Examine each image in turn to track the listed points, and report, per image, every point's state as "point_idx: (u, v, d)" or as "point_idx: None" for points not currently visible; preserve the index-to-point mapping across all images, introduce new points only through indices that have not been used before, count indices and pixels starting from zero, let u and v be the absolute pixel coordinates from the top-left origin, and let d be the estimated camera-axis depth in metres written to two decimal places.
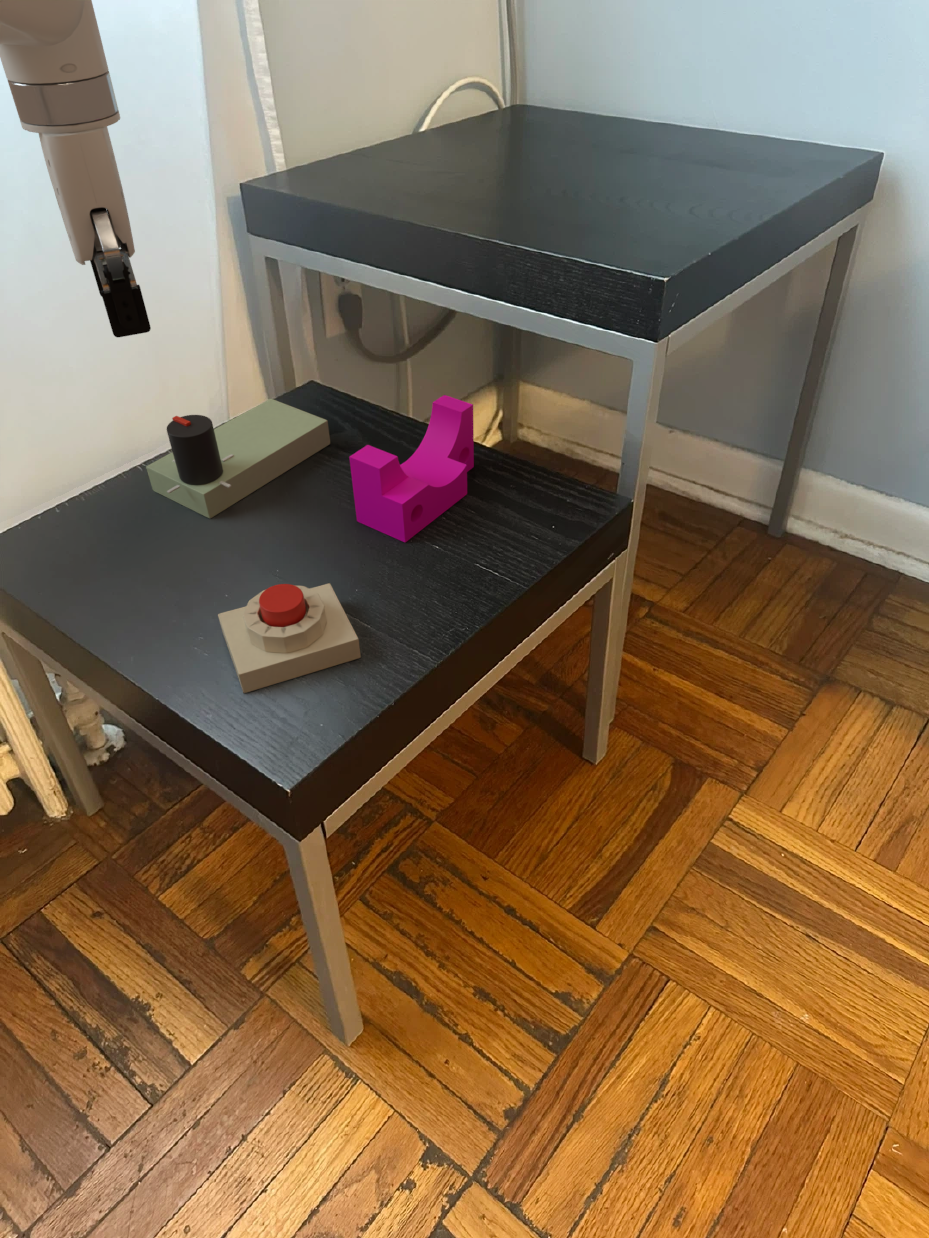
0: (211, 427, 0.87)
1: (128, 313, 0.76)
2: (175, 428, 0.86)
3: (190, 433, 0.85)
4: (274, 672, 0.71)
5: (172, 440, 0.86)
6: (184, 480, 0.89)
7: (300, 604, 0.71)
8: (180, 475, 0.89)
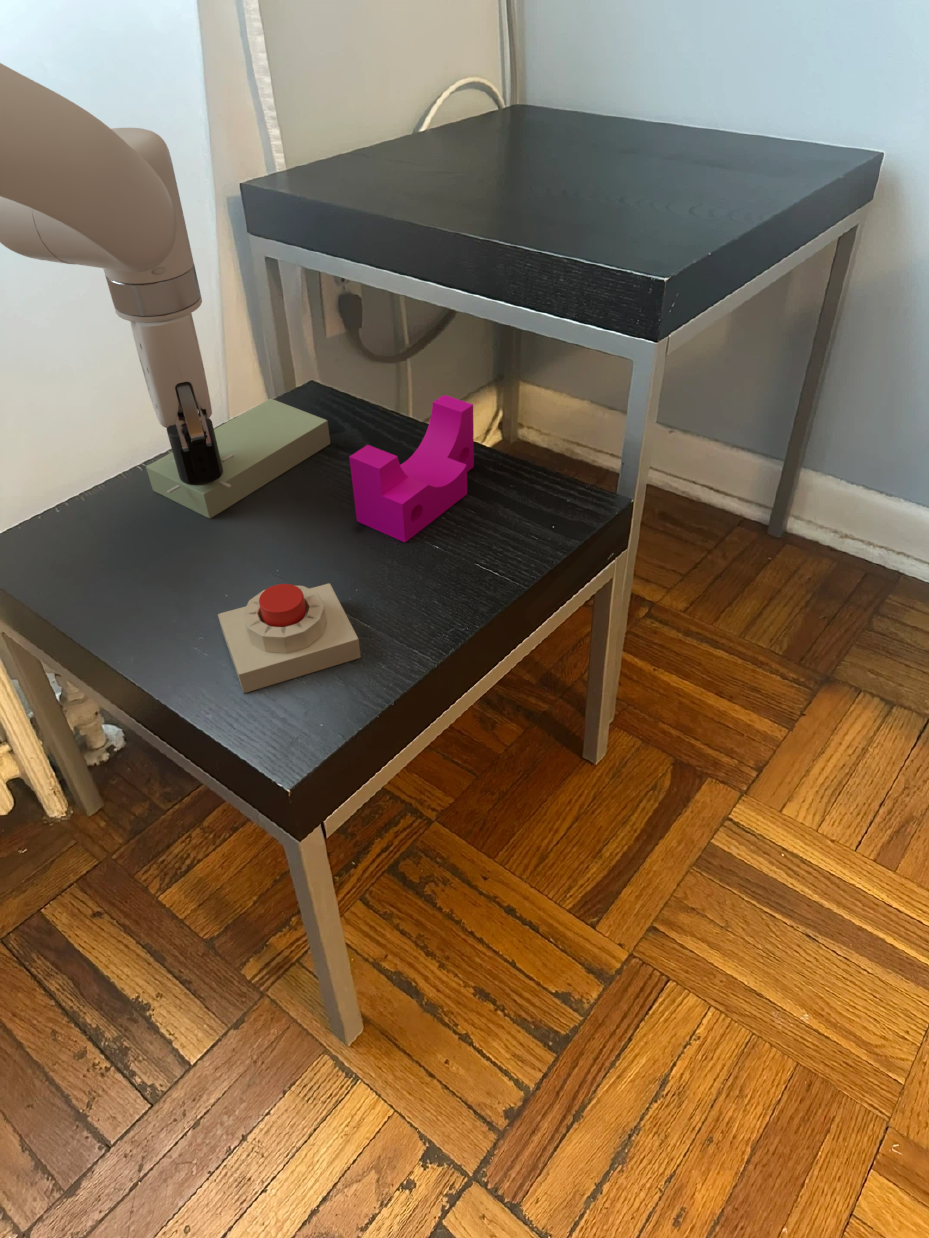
0: (211, 427, 0.87)
1: (203, 466, 0.86)
2: (175, 428, 0.86)
3: None
4: (274, 672, 0.71)
5: (172, 440, 0.86)
6: (184, 480, 0.89)
7: (300, 604, 0.71)
8: (180, 475, 0.89)
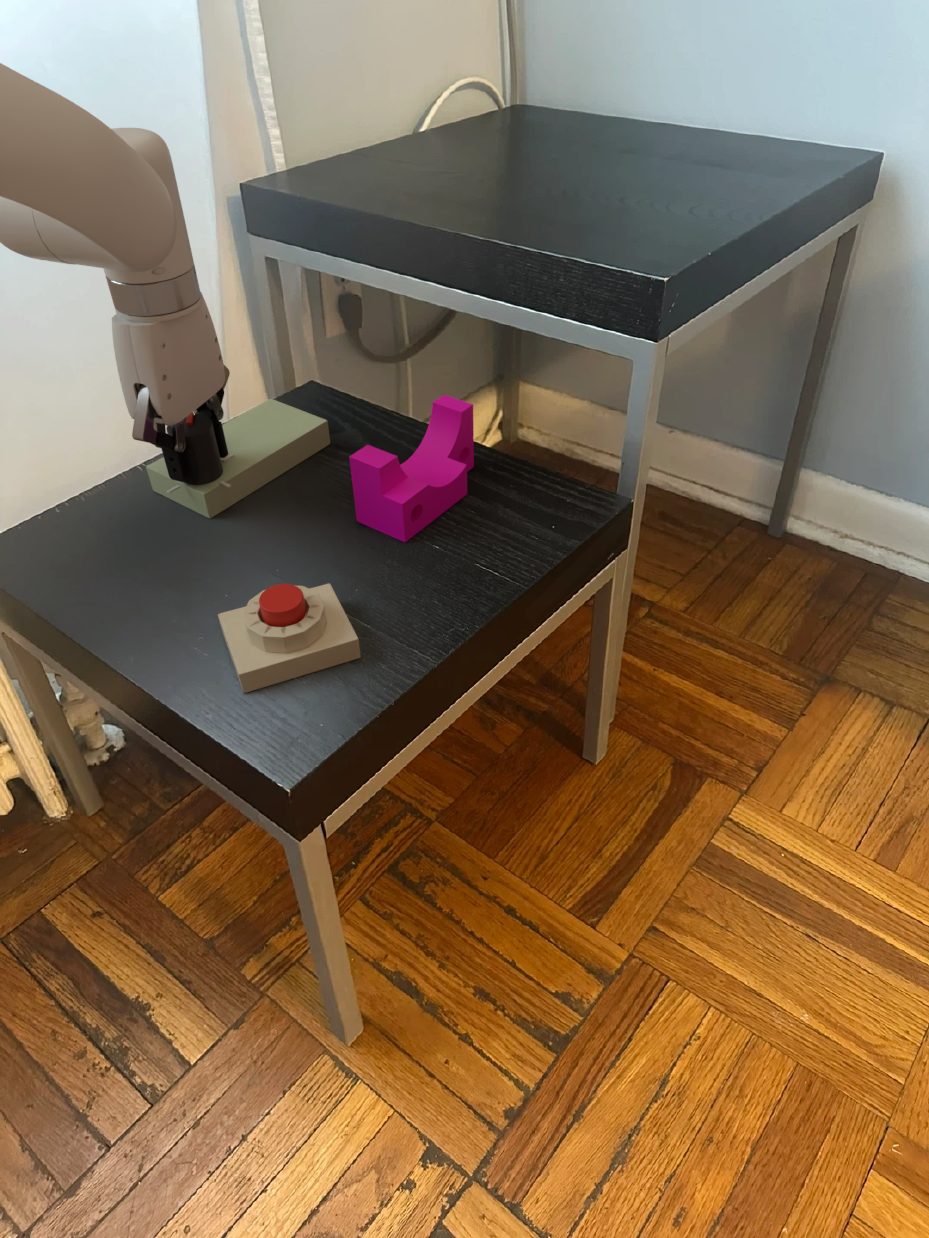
0: (200, 435, 0.85)
1: (175, 467, 0.86)
2: None
3: None
4: (274, 672, 0.71)
5: None
6: None
7: (300, 604, 0.71)
8: None
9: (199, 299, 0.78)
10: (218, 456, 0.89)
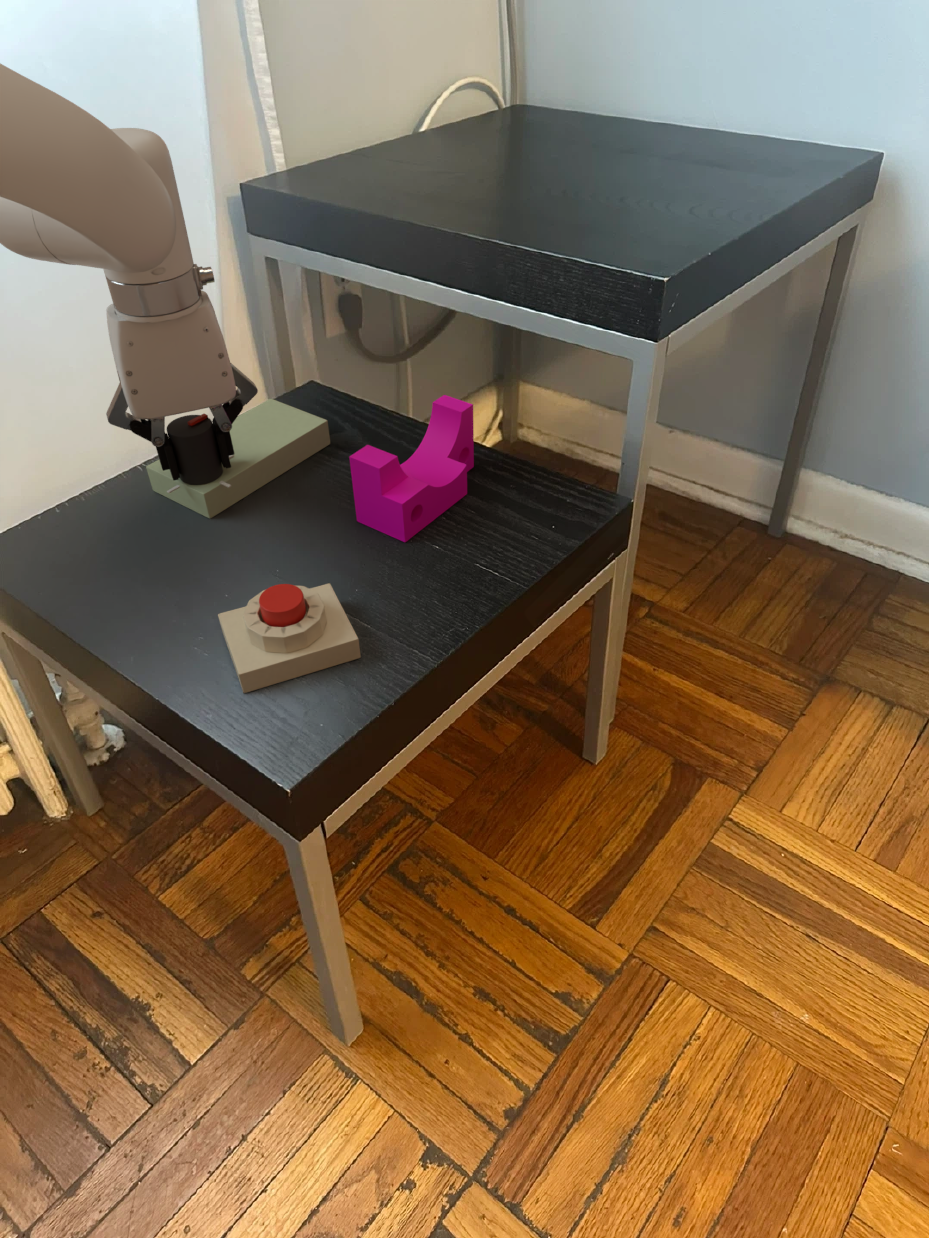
0: (182, 438, 0.85)
1: None
2: (187, 419, 0.87)
3: (172, 428, 0.86)
4: (274, 672, 0.71)
5: None
6: None
7: (300, 604, 0.71)
8: None
9: (179, 311, 0.76)
10: (208, 464, 0.88)
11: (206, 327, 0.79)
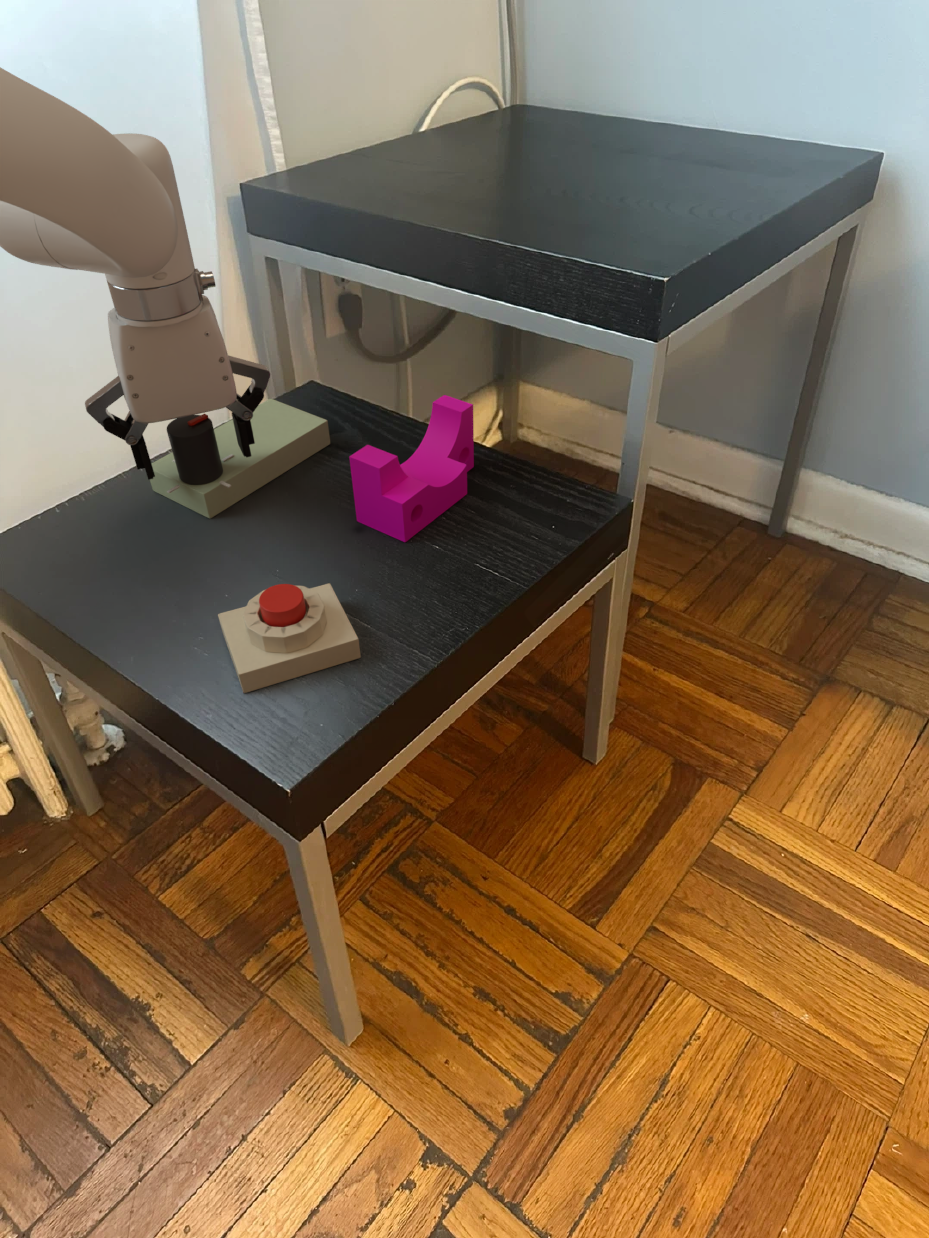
0: (182, 438, 0.85)
1: None
2: (187, 419, 0.87)
3: (172, 427, 0.86)
4: (274, 672, 0.71)
5: None
6: None
7: (300, 604, 0.71)
8: None
9: (180, 316, 0.76)
10: (207, 464, 0.88)
11: (207, 331, 0.79)
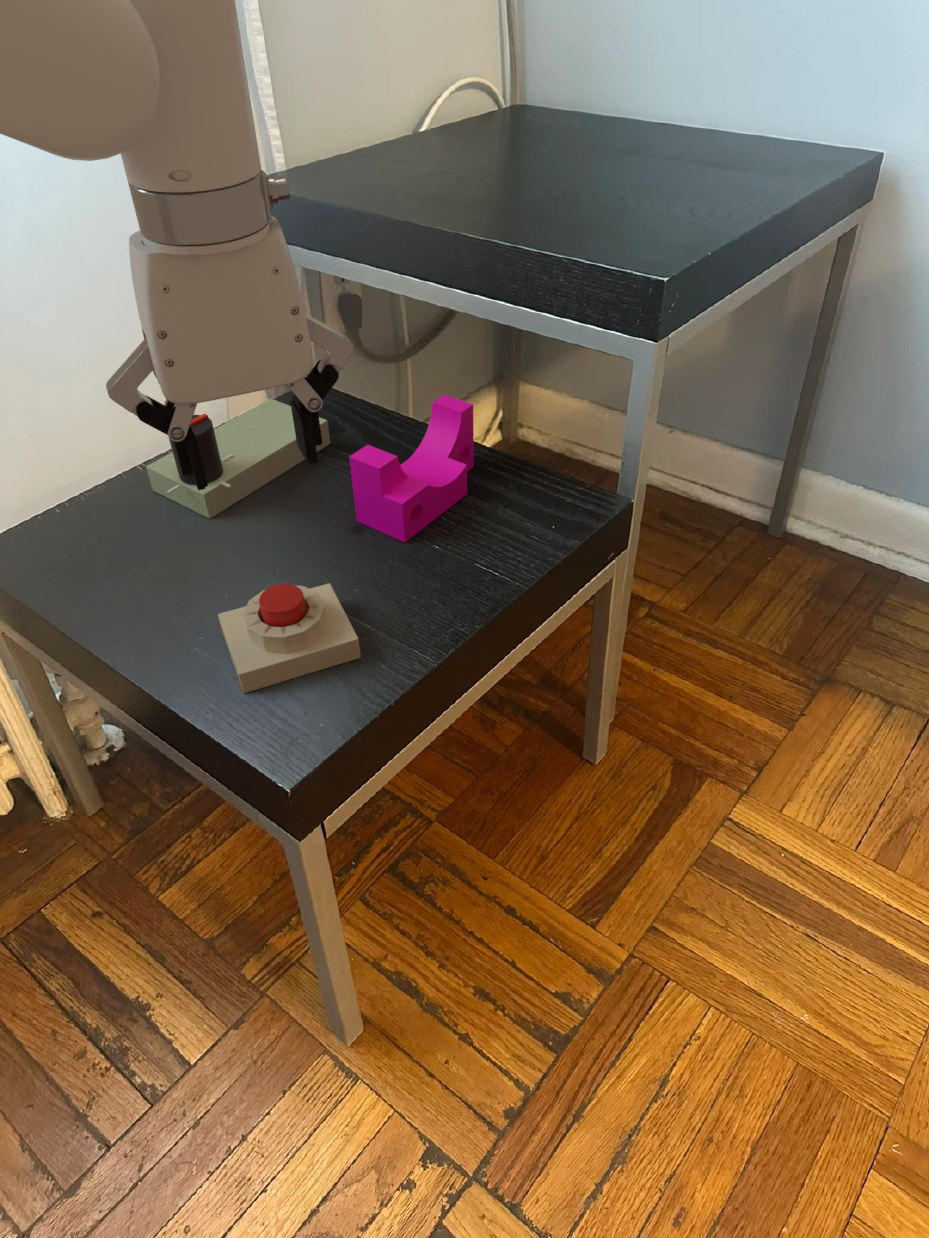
0: None
1: (178, 457, 0.61)
2: None
3: None
4: (274, 672, 0.71)
5: None
6: None
7: (300, 604, 0.71)
8: None
9: (240, 239, 0.50)
10: (207, 464, 0.88)
11: (276, 266, 0.53)
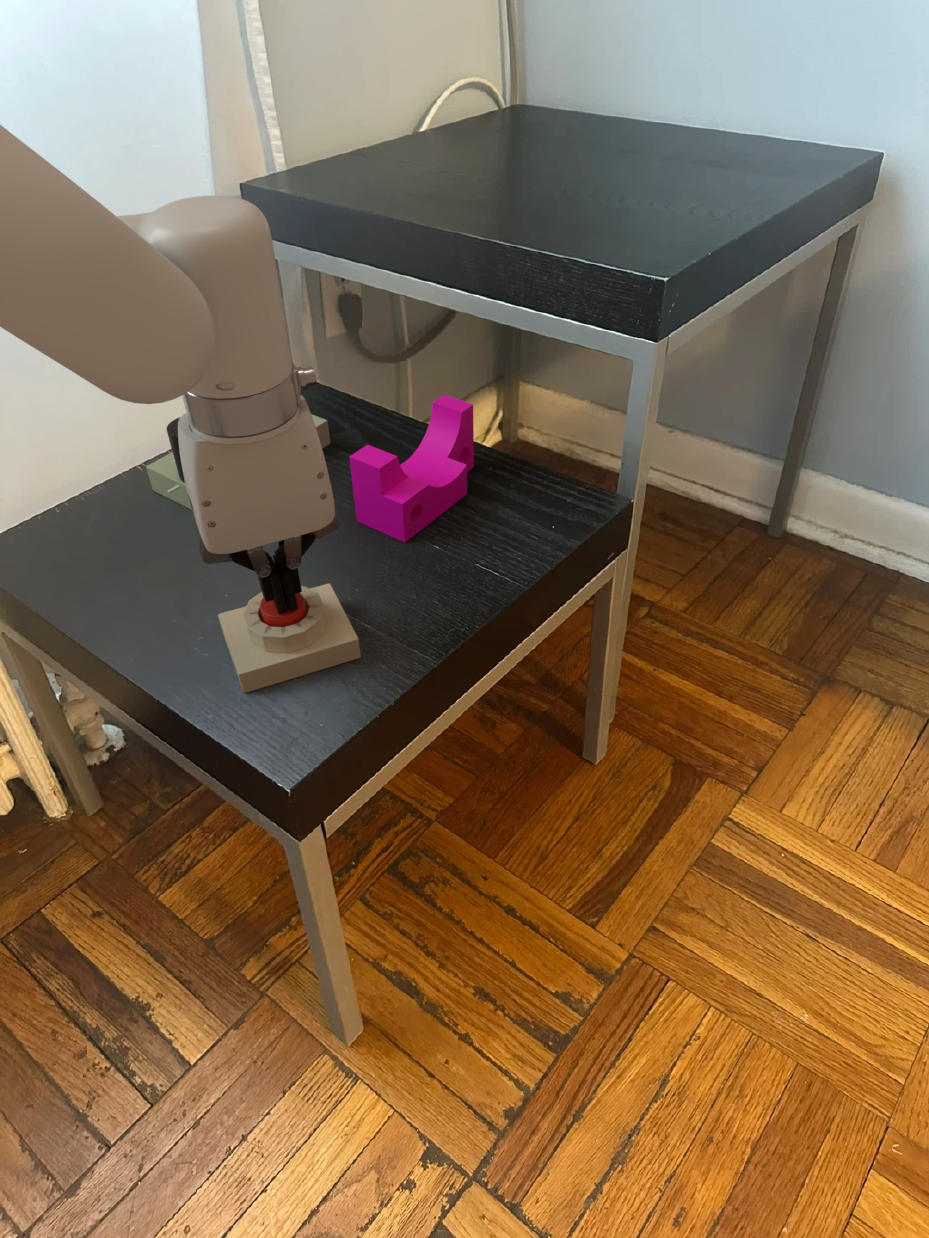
0: None
1: (262, 586, 0.70)
2: None
3: (172, 427, 0.86)
4: (274, 672, 0.71)
5: None
6: None
7: (301, 609, 0.72)
8: None
9: (275, 429, 0.58)
10: None
11: (305, 443, 0.61)
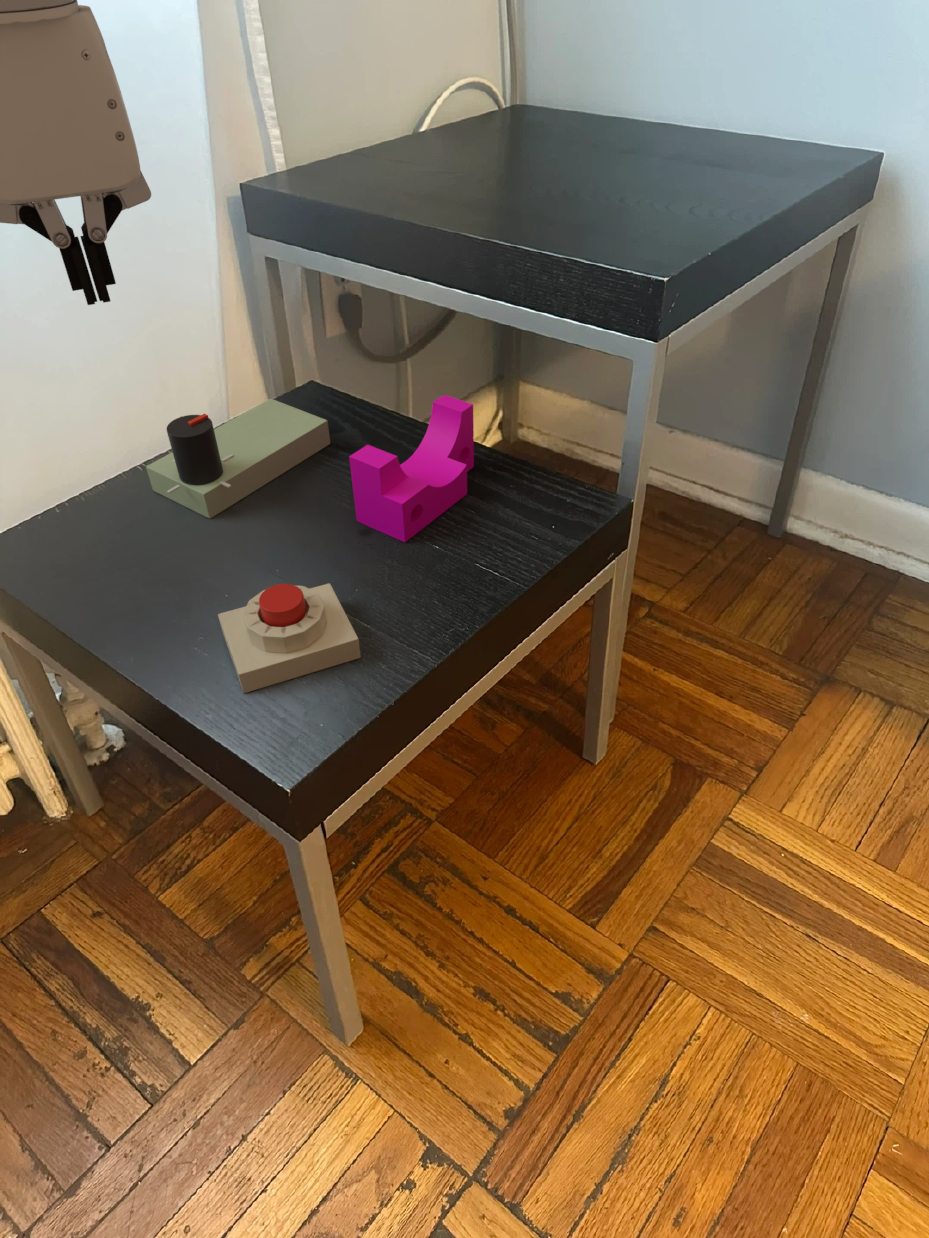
0: (182, 438, 0.85)
1: None
2: (187, 419, 0.87)
3: (172, 427, 0.86)
4: (274, 672, 0.71)
5: None
6: None
7: (300, 604, 0.71)
8: None
9: (37, 10, 0.50)
10: (207, 464, 0.88)
11: (86, 51, 0.53)
